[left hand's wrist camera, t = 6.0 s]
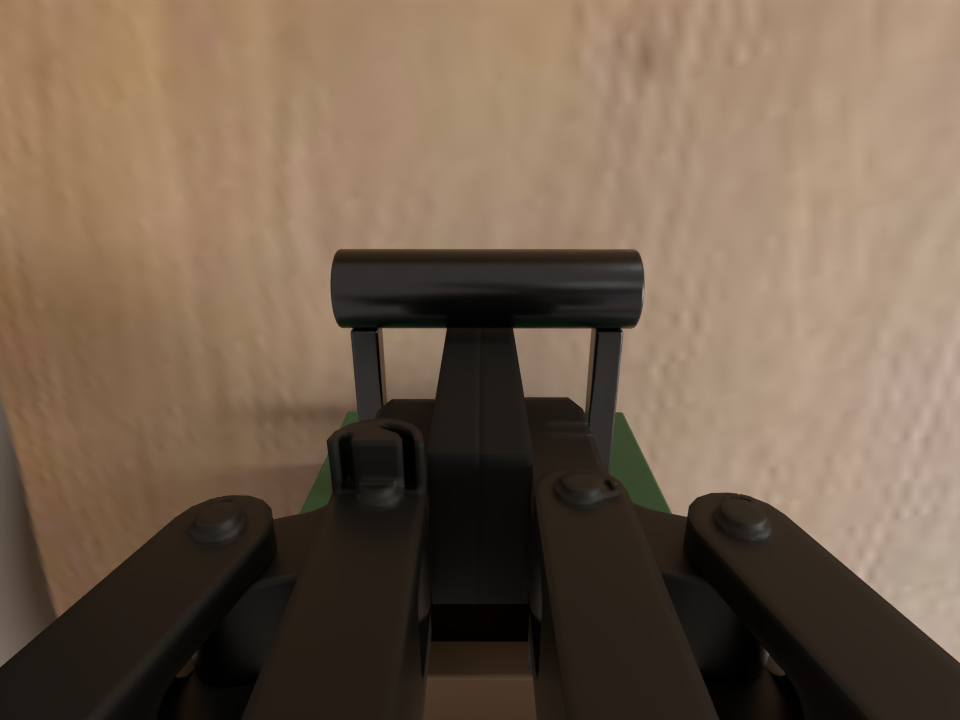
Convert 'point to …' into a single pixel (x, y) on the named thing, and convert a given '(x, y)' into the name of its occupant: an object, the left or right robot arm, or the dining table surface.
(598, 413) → the drawer
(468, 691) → the cabinet
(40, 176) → the dining table surface
